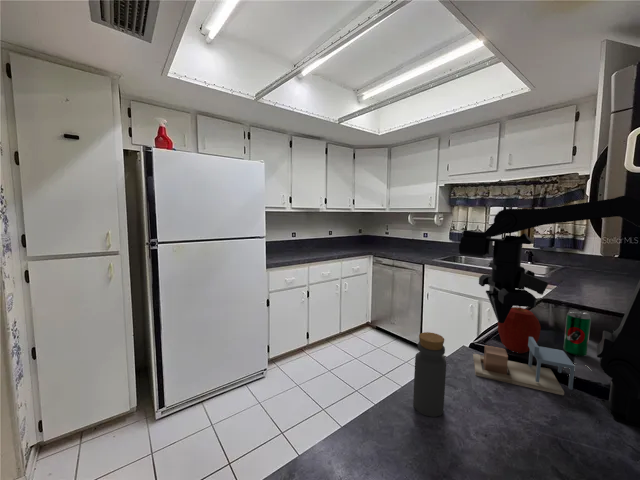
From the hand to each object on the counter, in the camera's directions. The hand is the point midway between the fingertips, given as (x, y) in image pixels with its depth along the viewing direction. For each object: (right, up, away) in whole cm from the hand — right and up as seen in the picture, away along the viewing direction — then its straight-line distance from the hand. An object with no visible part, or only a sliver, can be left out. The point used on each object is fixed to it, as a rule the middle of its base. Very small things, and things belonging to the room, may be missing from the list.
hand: (500, 322), depth 70 cm
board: (+3, -13, 0) cm, 13 cm away
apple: (+12, -12, +12) cm, 20 cm away
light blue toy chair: (+9, -12, -3) cm, 15 cm away
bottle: (-23, -14, -12) cm, 29 cm away
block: (-1, -12, +1) cm, 13 cm away
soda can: (+28, -12, +11) cm, 33 cm away
